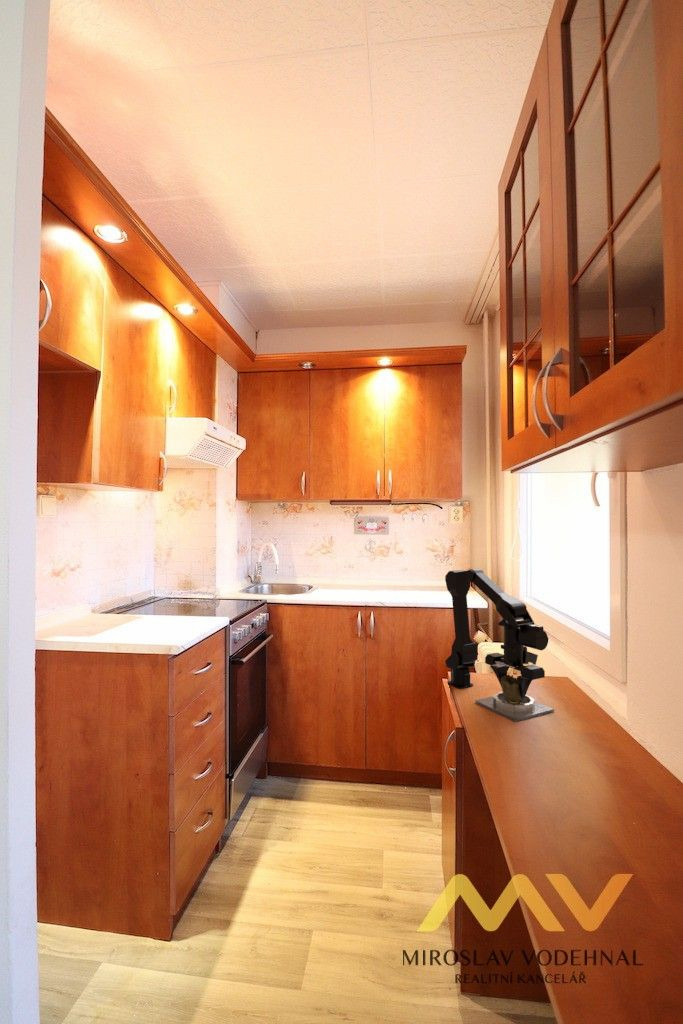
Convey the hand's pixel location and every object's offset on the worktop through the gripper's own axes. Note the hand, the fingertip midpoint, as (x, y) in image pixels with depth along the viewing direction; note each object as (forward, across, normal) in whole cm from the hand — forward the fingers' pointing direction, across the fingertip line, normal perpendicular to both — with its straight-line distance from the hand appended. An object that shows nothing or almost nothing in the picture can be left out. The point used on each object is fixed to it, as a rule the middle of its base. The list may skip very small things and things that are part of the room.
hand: (513, 693), depth 146 cm
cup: (+4, 0, 0) cm, 4 cm away
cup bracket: (+4, 0, 0) cm, 4 cm away
